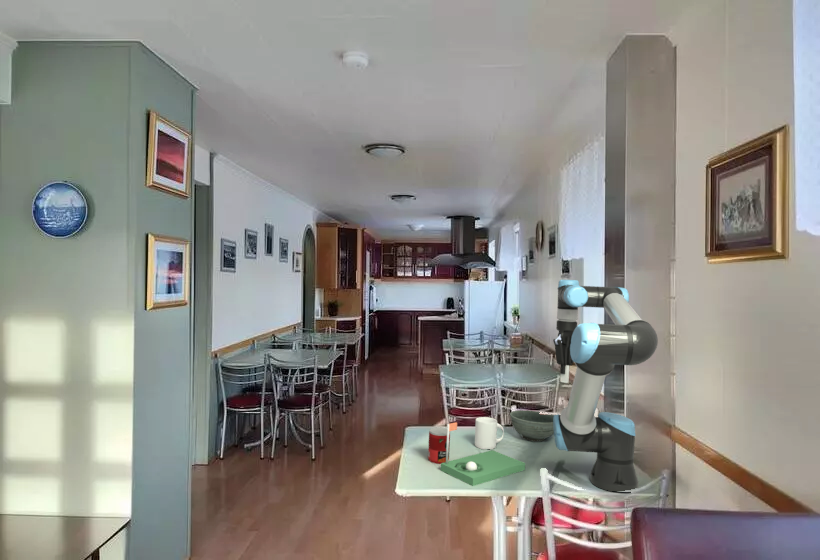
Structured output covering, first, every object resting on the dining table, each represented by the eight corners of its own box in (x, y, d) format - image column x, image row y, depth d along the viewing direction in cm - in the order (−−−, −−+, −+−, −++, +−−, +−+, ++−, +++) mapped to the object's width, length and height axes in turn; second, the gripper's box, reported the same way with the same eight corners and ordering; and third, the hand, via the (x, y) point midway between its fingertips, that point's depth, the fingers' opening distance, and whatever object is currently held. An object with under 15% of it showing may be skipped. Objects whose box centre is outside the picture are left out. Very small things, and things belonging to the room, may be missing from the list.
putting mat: (524, 470, 190) (526, 424, 189) (472, 486, 174) (474, 435, 173) (492, 456, 202) (493, 413, 202) (440, 470, 186) (442, 423, 186)
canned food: (440, 465, 191) (441, 435, 191) (423, 459, 196) (424, 430, 196) (453, 460, 196) (454, 431, 196) (436, 455, 202) (437, 426, 202)
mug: (507, 449, 211) (508, 422, 211) (478, 450, 209) (479, 423, 209) (499, 442, 220) (500, 416, 220) (471, 443, 217) (472, 417, 217)
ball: (481, 469, 184) (474, 464, 182) (473, 477, 183) (467, 473, 181) (475, 462, 187) (468, 457, 185) (467, 470, 187) (461, 466, 185)
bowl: (500, 439, 224) (501, 415, 224) (520, 428, 241) (521, 406, 241) (548, 450, 212) (549, 425, 212) (565, 437, 229) (566, 414, 229)
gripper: (569, 318, 209) (566, 378, 209) (548, 319, 201) (545, 382, 201) (585, 320, 203) (583, 382, 203) (564, 321, 195) (562, 385, 195)
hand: (564, 382), depth 202 cm, fingers closed
